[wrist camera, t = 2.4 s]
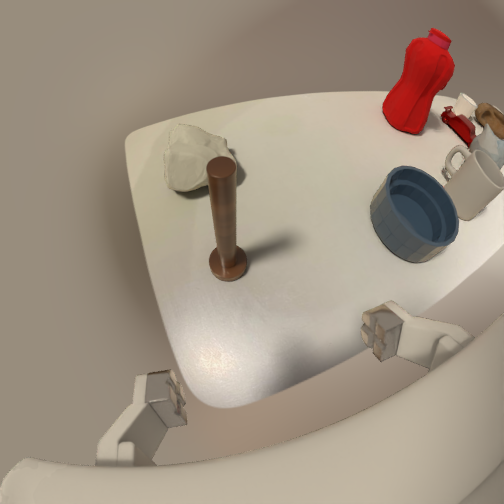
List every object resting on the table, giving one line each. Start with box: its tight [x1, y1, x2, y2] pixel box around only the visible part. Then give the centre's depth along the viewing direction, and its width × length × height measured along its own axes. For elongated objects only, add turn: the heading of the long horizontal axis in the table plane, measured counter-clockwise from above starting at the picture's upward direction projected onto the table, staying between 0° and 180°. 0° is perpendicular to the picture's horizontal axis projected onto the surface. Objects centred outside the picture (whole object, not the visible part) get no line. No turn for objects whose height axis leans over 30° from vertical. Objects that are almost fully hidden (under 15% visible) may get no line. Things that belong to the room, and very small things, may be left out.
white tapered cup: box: [453, 93, 478, 118], centre depth 53 cm, size 7×7×7 cm
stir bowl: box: [370, 166, 459, 263], centre depth 34 cm, size 13×13×6 cm
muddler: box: [206, 156, 247, 281], centre depth 25 cm, size 4×4×17 cm
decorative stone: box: [164, 124, 237, 192], centre depth 36 cm, size 11×9×10 cm
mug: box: [444, 145, 504, 221], centre depth 36 cm, size 12×8×11 cm
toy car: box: [441, 106, 476, 148], centre depth 49 cm, size 14×6×5 cm, turn 32°
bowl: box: [475, 103, 504, 139], centre depth 53 cm, size 18×14×10 cm
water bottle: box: [382, 28, 455, 134], centre depth 37 cm, size 9×11×25 cm
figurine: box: [461, 123, 504, 169], centre depth 38 cm, size 10×9×15 cm
